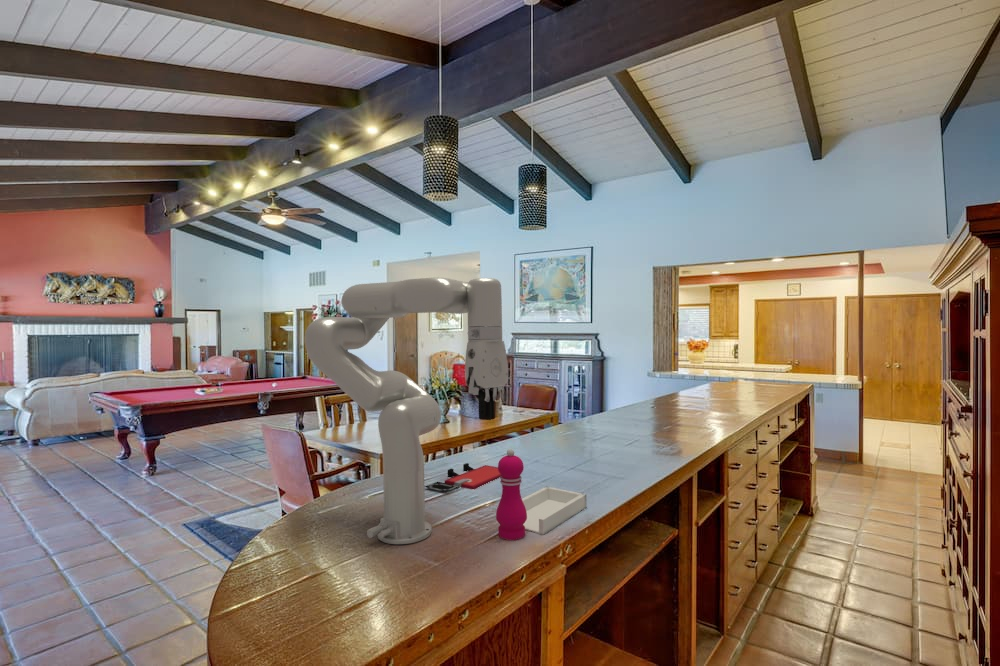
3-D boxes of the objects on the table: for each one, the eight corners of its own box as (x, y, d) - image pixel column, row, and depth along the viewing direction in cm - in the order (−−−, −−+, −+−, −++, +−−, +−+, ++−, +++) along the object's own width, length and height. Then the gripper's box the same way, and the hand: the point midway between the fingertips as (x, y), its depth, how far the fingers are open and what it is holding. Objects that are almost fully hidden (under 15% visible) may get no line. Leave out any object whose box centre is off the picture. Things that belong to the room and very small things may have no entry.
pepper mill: (511, 526, 121) (510, 444, 121) (533, 534, 116) (532, 448, 116) (489, 534, 116) (488, 449, 116) (512, 543, 111) (510, 454, 111)
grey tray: (543, 534, 115) (543, 519, 115) (500, 523, 123) (500, 509, 123) (586, 507, 133) (586, 494, 133) (546, 498, 140) (546, 486, 140)
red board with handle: (419, 488, 152) (458, 498, 143) (419, 479, 152) (458, 488, 143) (476, 467, 177) (512, 474, 168) (477, 459, 177) (512, 466, 168)
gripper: (476, 335, 100) (478, 426, 100) (518, 334, 112) (520, 415, 112) (449, 336, 105) (451, 422, 105) (492, 335, 117) (493, 413, 117)
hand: (486, 418), depth 109 cm, fingers closed
